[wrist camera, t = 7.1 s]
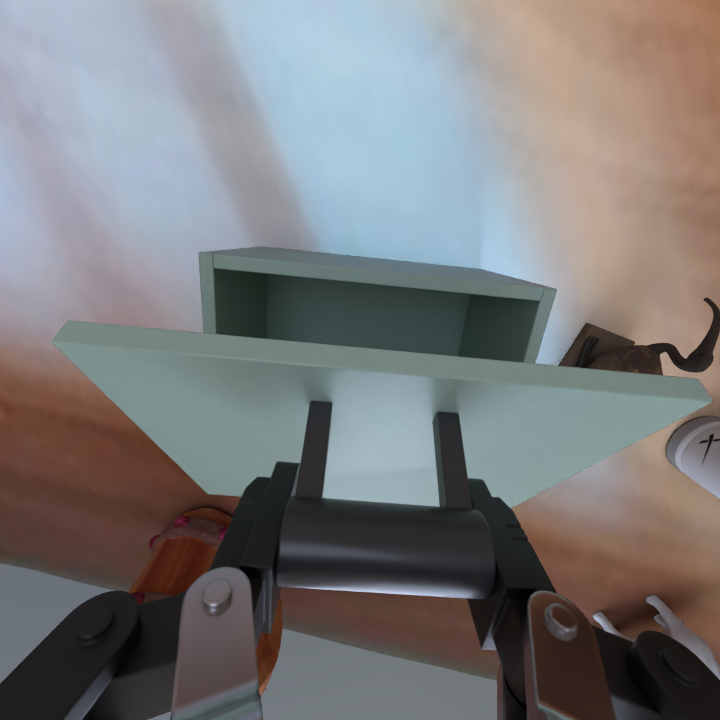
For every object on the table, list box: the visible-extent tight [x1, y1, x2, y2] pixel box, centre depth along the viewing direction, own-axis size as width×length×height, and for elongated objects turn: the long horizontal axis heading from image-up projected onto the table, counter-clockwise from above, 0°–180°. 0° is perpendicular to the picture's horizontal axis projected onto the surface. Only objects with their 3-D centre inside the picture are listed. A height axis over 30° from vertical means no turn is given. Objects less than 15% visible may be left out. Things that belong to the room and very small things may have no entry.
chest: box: [199, 246, 557, 364], centre depth 24 cm, size 14×18×11 cm
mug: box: [128, 508, 282, 696], centre depth 30 cm, size 15×8×15 cm, turn 71°
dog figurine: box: [593, 595, 720, 679], centre depth 37 cm, size 5×13×11 cm, turn 119°
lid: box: [52, 321, 712, 599], centre depth 14 cm, size 15×18×6 cm
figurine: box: [559, 298, 720, 375], centre depth 26 cm, size 14×4×9 cm, turn 159°
